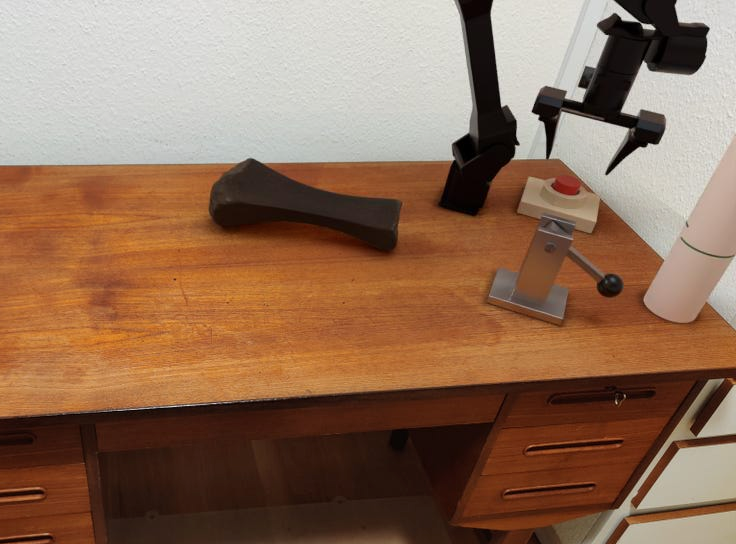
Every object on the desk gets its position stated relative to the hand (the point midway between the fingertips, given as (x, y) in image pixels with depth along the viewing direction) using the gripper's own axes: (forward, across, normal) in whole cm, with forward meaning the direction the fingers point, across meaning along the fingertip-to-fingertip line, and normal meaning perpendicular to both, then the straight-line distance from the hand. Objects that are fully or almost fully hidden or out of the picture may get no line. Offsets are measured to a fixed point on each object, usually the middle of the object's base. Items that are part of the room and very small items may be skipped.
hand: (576, 166), depth 116 cm
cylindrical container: (+8, -18, +19) cm, 28 cm away
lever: (+2, -3, +28) cm, 29 cm away
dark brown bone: (+8, +35, +29) cm, 46 cm away
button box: (+8, 0, -1) cm, 8 cm away
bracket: (+8, +1, +28) cm, 30 cm away
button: (+5, 0, -1) cm, 5 cm away
